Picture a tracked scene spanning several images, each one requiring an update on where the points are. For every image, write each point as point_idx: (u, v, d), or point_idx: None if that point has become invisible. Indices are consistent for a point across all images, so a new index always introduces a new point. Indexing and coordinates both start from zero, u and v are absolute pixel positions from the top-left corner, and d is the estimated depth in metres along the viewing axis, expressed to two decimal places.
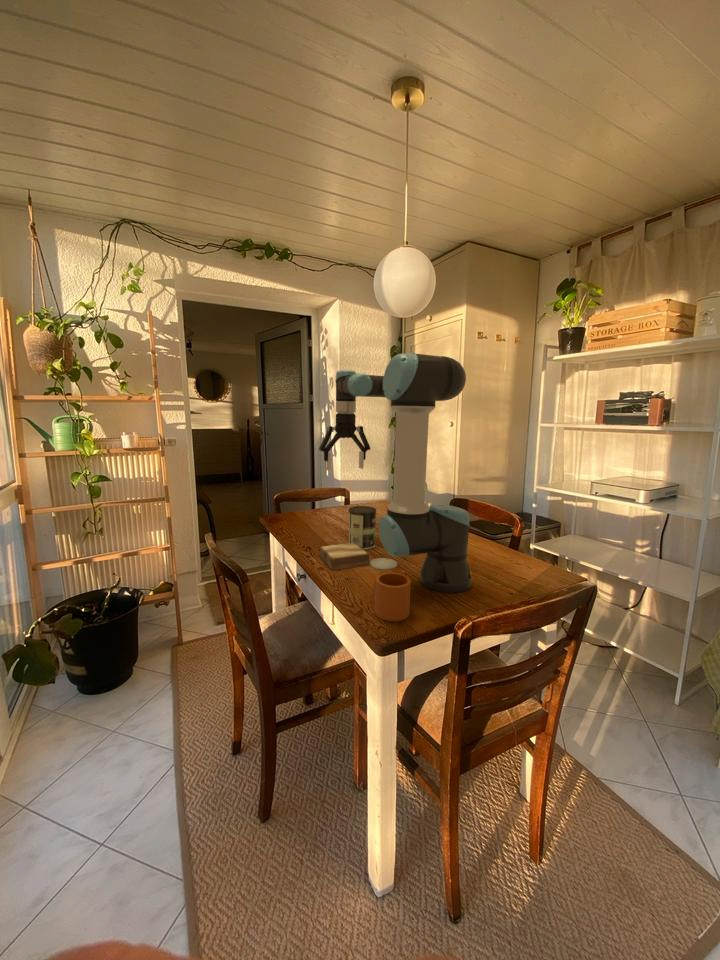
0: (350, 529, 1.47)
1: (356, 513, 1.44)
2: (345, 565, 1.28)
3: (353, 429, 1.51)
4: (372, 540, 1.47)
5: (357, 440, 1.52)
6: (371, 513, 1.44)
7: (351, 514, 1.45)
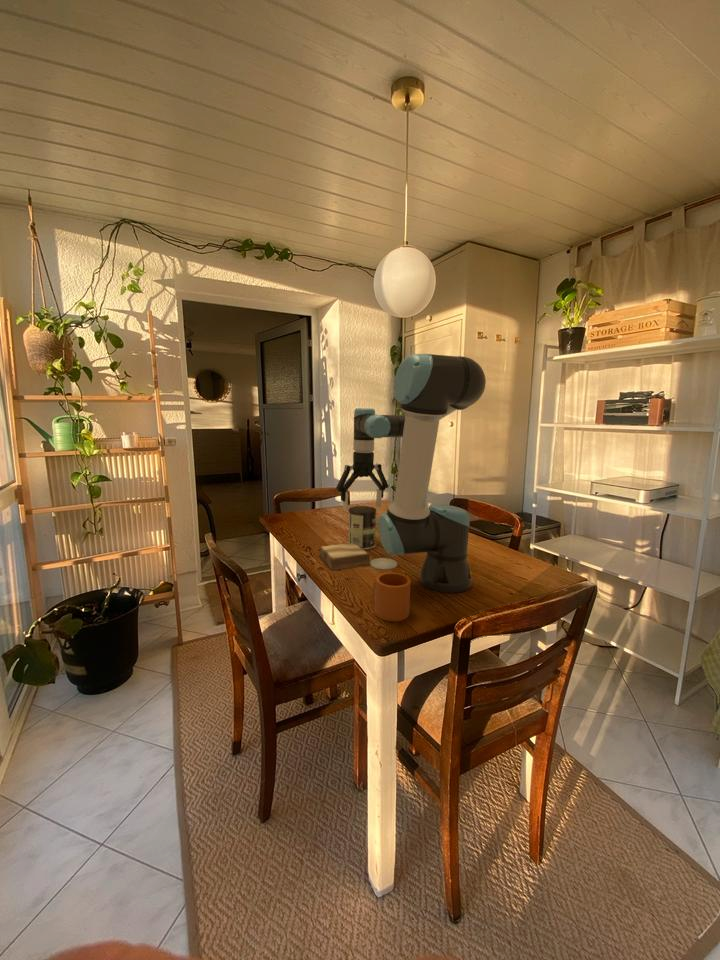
0: (350, 529, 1.47)
1: (356, 513, 1.44)
2: (345, 565, 1.28)
3: (371, 468, 1.46)
4: (372, 540, 1.47)
5: (375, 479, 1.47)
6: (371, 513, 1.44)
7: (351, 514, 1.45)
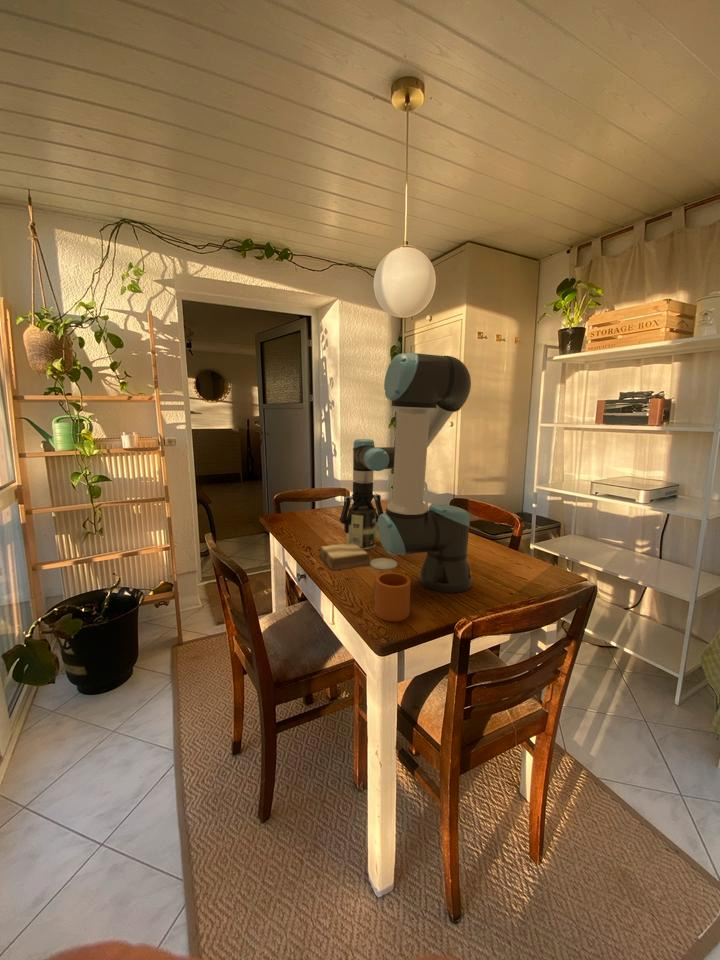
0: None
1: (356, 513, 1.44)
2: (345, 565, 1.28)
3: (370, 497, 1.47)
4: (372, 540, 1.47)
5: None
6: (371, 513, 1.44)
7: None
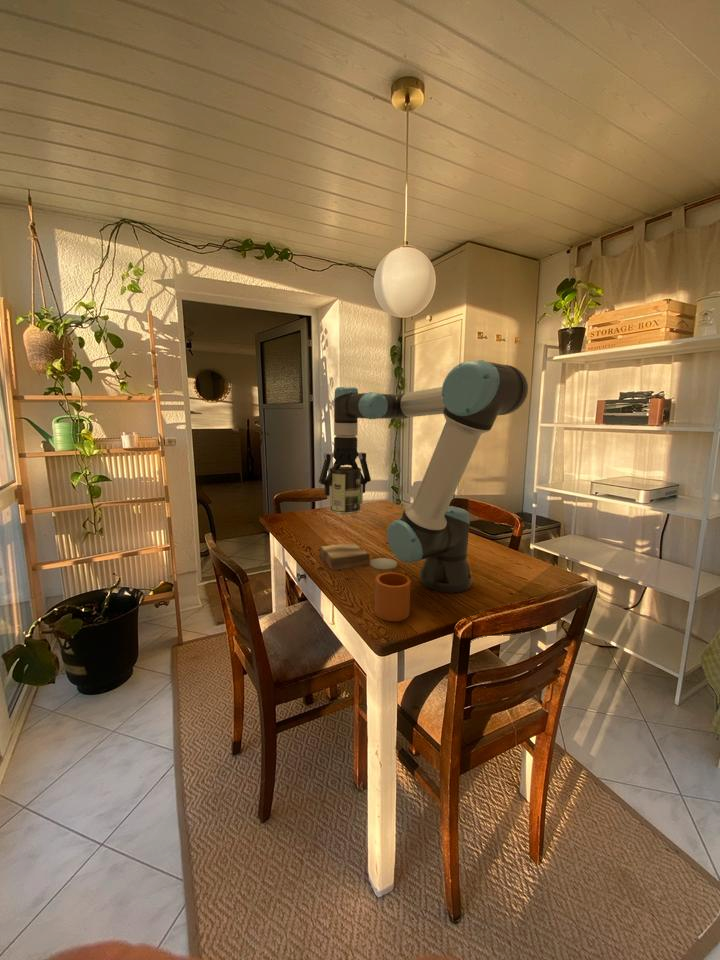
0: None
1: (337, 472, 1.25)
2: (345, 565, 1.28)
3: (354, 455, 1.29)
4: (356, 504, 1.28)
5: None
6: (354, 472, 1.26)
7: None
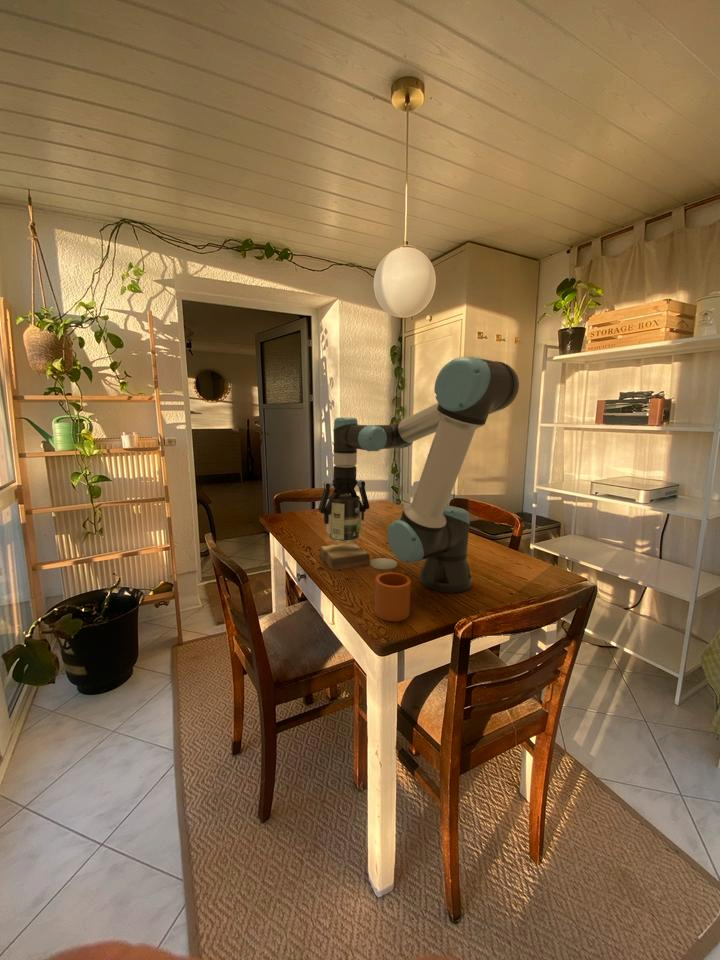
0: None
1: (336, 501, 1.27)
2: (345, 565, 1.28)
3: (353, 483, 1.30)
4: (355, 532, 1.30)
5: None
6: (354, 501, 1.27)
7: None
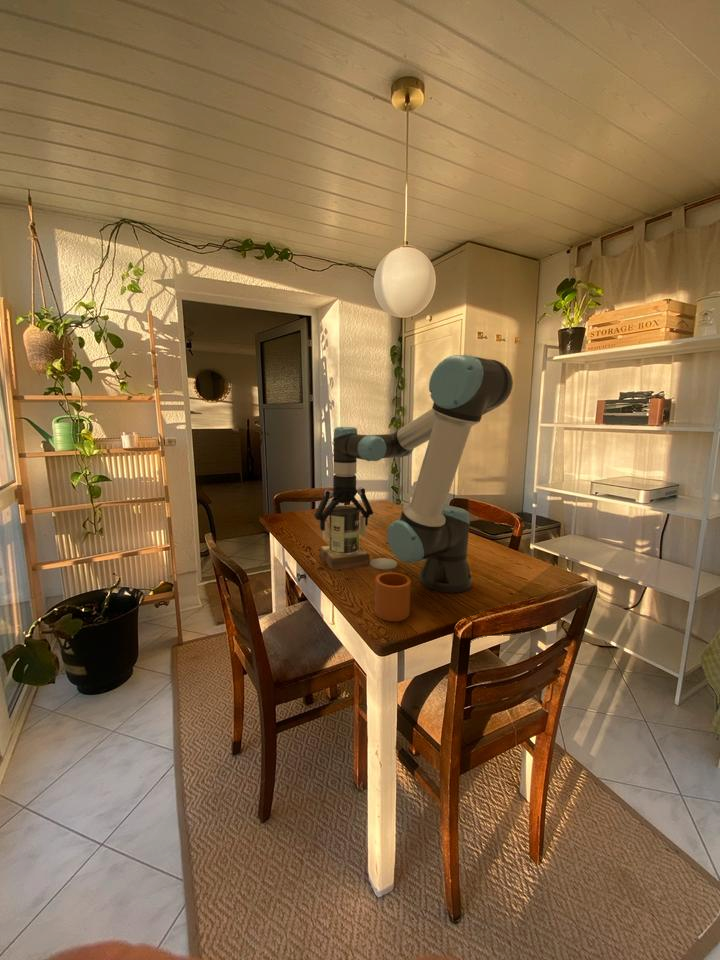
0: (330, 532, 1.31)
1: (336, 514, 1.27)
2: (345, 565, 1.28)
3: (353, 492, 1.31)
4: (355, 544, 1.31)
5: (358, 505, 1.32)
6: (353, 514, 1.28)
7: (331, 515, 1.29)
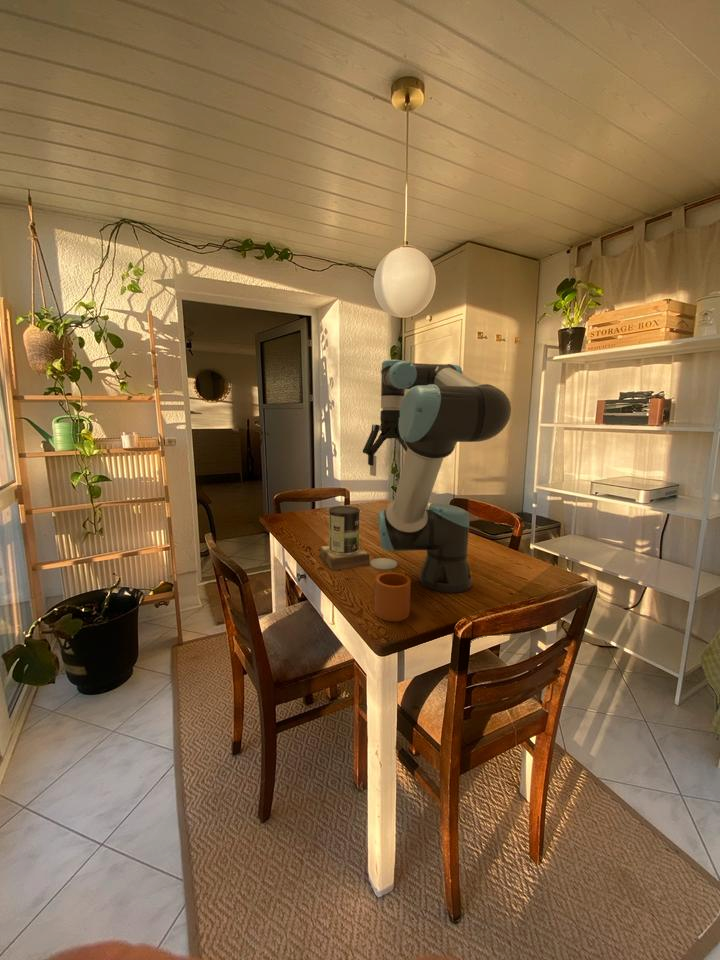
0: (330, 532, 1.31)
1: (336, 514, 1.27)
2: (345, 565, 1.28)
3: None
4: (355, 544, 1.31)
5: (404, 441, 1.32)
6: (353, 514, 1.28)
7: (331, 515, 1.29)
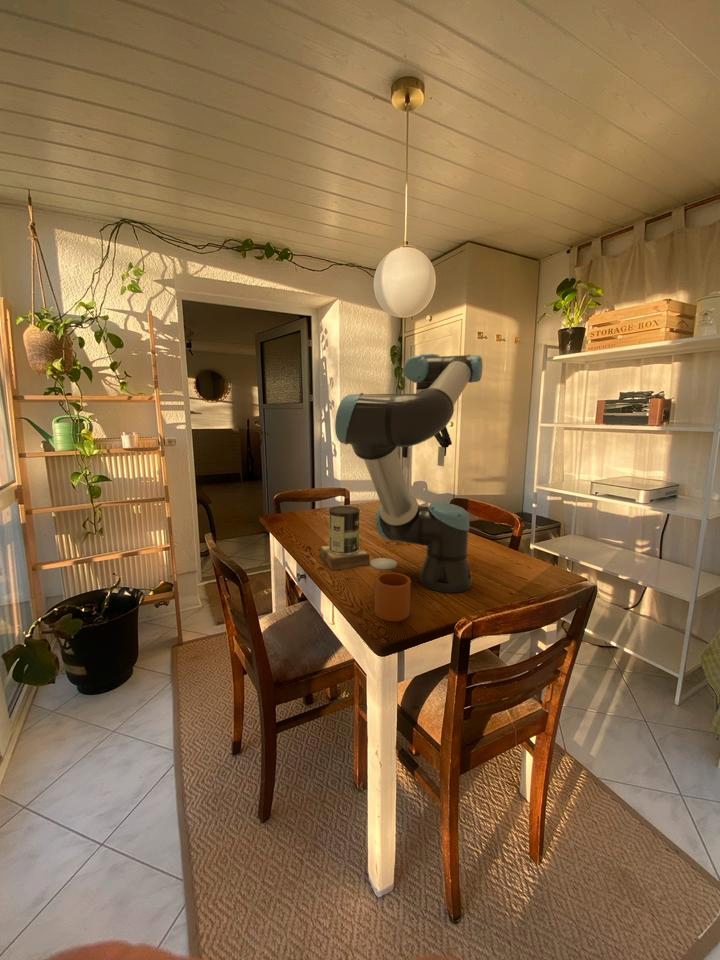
0: (330, 532, 1.31)
1: (336, 514, 1.27)
2: (345, 565, 1.28)
3: None
4: (355, 544, 1.31)
5: (438, 434, 1.35)
6: (353, 514, 1.28)
7: (331, 515, 1.29)
